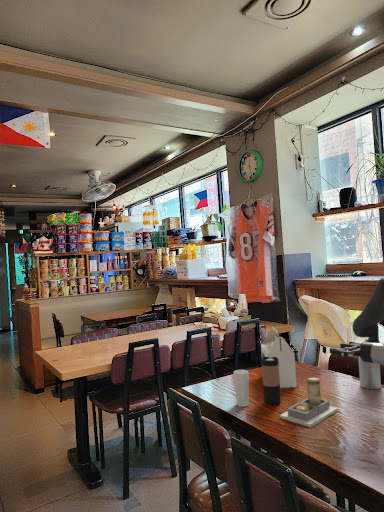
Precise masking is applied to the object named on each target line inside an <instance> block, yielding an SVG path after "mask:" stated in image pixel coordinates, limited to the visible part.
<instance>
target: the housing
mask: <svg viewBox="0 0 384 512" xmlns="http://www.w3.org/2000/svg"><path fill="white" fill-rule="evenodd" d="M338 411H339V408H338V407H335V406H332V405H330V400H326V399H323V398H321V404H320V405H318V406H316V405H313V404H309V400H308V397H307V398H304V399H303V400H301V401H300V402H297V403H296V404H293V405H291V406H290V407H287V410H286V411H285V412H283V413H281V414H280V415H279V418H280V419H283V420H285V421H287V422H288V421H289V422H292V423H295V424H298V425H301V426H304V427H308V428H313V427H314V426H316V425H317V424H319V423H321V422H322V421H324V420H326V419H327V418H329V417H330V416H332V415H333V414H335V413H337V412H338Z"/></svg>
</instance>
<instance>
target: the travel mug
mask: <svg viewBox="0 0 384 512" xmlns="http://www.w3.org/2000/svg"><path fill="white" fill-rule="evenodd" d="M261 379H262V391H263V400H264V402H263V403H264V404H265V405H267V406H269V407H276V406H280V405H281V403H282V402H281V399H282V398H281V388H280V376H279V362H278V358H277V357H273V358H269V357H263V358H262V357H261Z"/></svg>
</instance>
